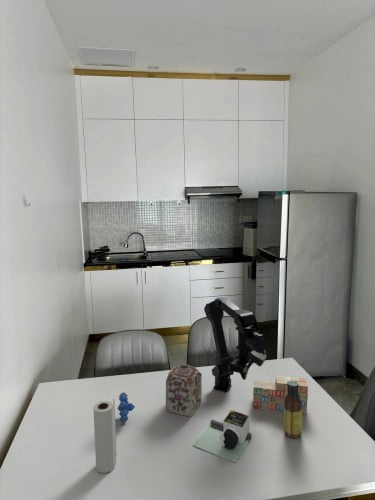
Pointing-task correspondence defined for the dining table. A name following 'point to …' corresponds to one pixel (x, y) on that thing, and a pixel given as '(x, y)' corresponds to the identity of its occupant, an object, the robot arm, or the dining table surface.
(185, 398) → the decorative jar
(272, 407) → the stack of blocks
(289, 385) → the sauce bottle
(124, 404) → the grapes
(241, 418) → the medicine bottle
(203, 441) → the pale green flat panel
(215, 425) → the strip
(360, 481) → the dining table surface
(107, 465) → the paper towel roll
